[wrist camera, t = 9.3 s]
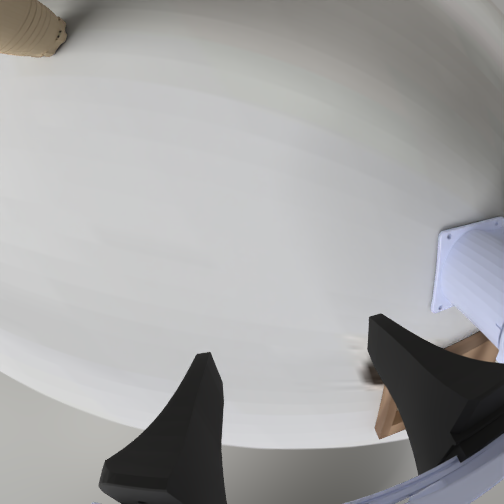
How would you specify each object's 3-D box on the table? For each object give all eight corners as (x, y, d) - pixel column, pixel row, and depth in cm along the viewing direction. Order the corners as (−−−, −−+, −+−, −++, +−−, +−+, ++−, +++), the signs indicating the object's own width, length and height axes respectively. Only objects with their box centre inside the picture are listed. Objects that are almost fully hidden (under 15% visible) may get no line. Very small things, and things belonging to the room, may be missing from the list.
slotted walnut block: (499, 320, 25) (508, 328, 23) (475, 381, 29) (481, 389, 27) (386, 371, 25) (394, 384, 23) (374, 428, 29) (379, 439, 28)
